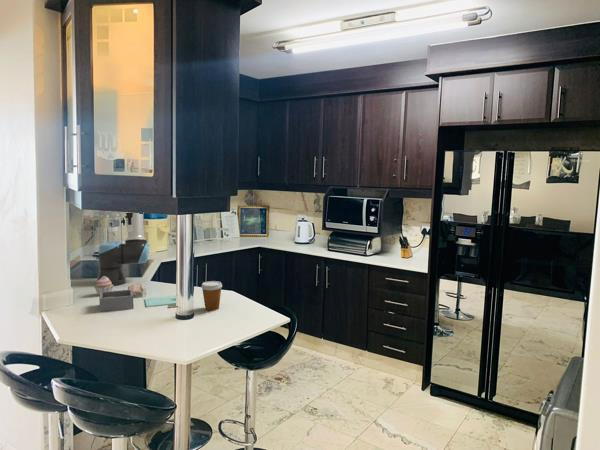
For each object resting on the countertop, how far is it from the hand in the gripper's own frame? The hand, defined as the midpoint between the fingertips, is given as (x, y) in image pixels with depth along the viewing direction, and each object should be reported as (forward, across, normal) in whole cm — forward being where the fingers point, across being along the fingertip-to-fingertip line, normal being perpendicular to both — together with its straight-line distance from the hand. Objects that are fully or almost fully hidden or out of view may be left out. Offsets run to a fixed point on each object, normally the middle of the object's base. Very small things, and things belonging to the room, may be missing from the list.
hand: (129, 229), depth 220 cm
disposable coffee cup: (+35, +29, +34) cm, 57 cm away
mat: (+35, +13, +13) cm, 39 cm away
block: (+34, +12, -10) cm, 37 cm away
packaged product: (+35, -7, +2) cm, 36 cm away
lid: (+34, +13, +16) cm, 40 cm away
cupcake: (+35, -13, -13) cm, 39 cm away
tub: (+35, +14, -7) cm, 38 cm away
